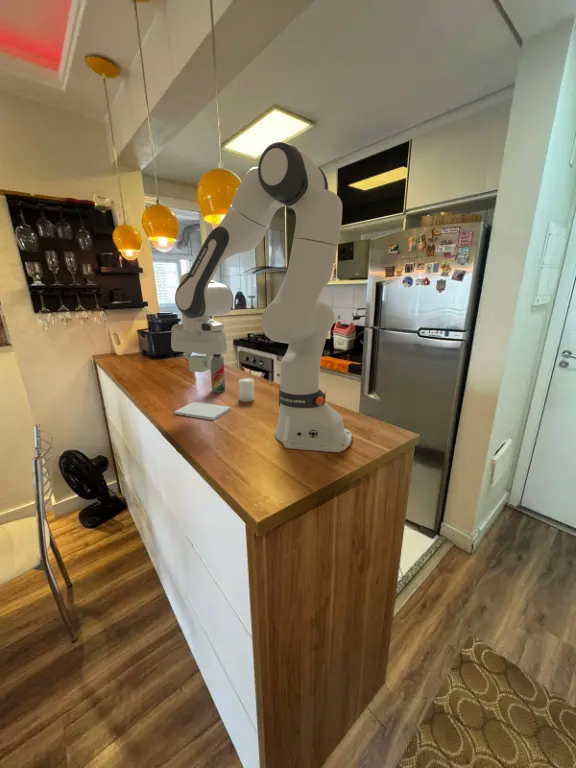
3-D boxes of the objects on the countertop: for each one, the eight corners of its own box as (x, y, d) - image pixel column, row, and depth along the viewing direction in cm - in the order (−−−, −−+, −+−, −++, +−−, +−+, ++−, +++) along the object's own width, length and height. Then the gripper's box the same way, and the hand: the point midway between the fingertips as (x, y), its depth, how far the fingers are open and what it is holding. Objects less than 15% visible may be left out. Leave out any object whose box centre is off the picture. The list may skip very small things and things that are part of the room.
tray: (230, 409, 112) (230, 406, 112) (213, 420, 102) (213, 417, 102) (194, 404, 118) (194, 401, 117) (174, 414, 108) (174, 411, 107)
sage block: (210, 369, 107) (209, 355, 106) (201, 372, 103) (200, 357, 101) (198, 368, 109) (197, 354, 107) (189, 371, 104) (188, 356, 103)
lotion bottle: (222, 393, 131) (219, 346, 126) (209, 392, 132) (206, 346, 127) (227, 389, 137) (225, 344, 131) (215, 388, 138) (212, 344, 132)
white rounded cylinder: (257, 398, 125) (256, 379, 123) (250, 402, 120) (249, 382, 118) (243, 396, 127) (243, 377, 125) (236, 400, 122) (235, 381, 120)
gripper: (164, 324, 102) (168, 365, 106) (217, 326, 95) (220, 369, 99) (177, 322, 108) (181, 361, 112) (228, 324, 101) (230, 365, 105)
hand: (199, 365), depth 105 cm, fingers closed on sage block, 5 cm apart
